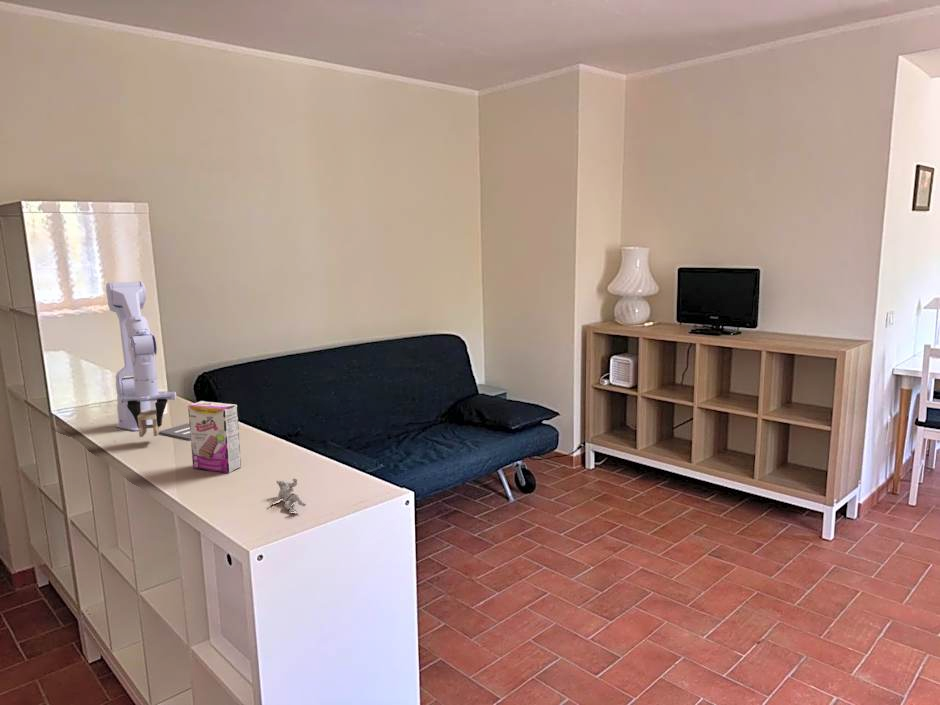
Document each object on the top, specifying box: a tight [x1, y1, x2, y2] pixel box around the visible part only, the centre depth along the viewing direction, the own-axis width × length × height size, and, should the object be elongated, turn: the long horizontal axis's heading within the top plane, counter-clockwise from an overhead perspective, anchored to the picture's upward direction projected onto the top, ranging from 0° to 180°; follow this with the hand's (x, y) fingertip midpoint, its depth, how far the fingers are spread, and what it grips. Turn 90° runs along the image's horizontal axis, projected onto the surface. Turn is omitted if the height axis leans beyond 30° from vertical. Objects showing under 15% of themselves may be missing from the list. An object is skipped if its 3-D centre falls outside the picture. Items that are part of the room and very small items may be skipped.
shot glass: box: [150, 401, 168, 416], centre depth 212 cm, size 7×7×7 cm
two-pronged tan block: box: [137, 409, 162, 438], centre depth 180 cm, size 4×6×6 cm
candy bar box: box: [187, 400, 242, 474], centre depth 159 cm, size 11×5×16 cm, turn 71°
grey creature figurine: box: [269, 477, 307, 514], centre depth 138 cm, size 8×5×12 cm
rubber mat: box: [158, 423, 191, 441], centre depth 191 cm, size 14×10×1 cm
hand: (149, 426), depth 180 cm, fingers closed on two-pronged tan block, 4 cm apart
